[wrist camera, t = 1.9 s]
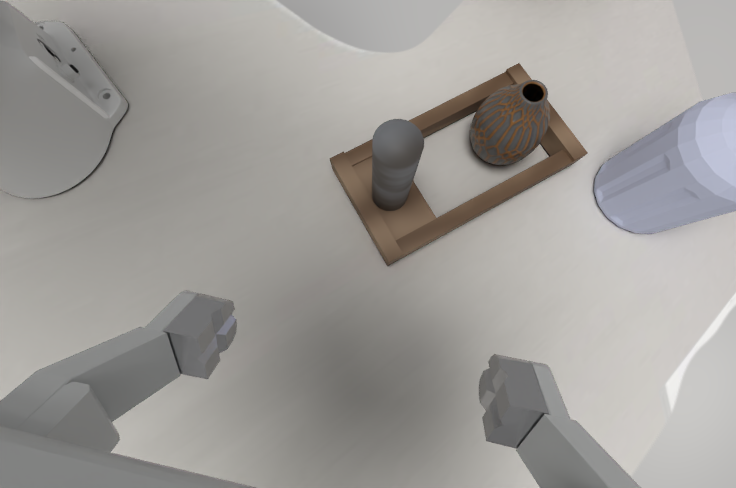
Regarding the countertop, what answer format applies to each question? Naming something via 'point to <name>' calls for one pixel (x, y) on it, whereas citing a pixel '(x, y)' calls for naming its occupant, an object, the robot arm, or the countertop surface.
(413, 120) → the strip frame
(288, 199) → the countertop surface
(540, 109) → the vase
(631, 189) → the soap bottle
